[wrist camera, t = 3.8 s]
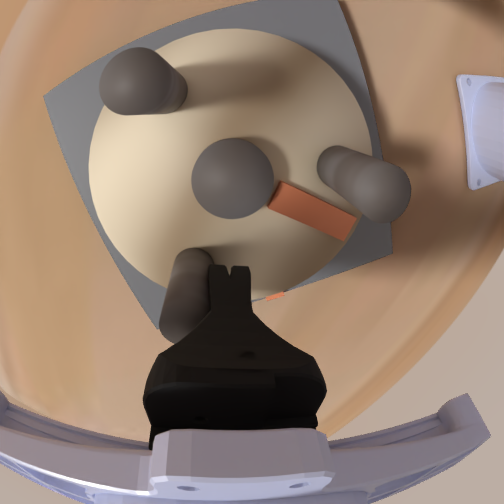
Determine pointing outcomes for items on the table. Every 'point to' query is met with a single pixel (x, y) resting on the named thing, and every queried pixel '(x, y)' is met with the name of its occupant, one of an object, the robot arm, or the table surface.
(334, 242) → the capstan wheel
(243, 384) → the robot arm
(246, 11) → the stand
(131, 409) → the table surface
